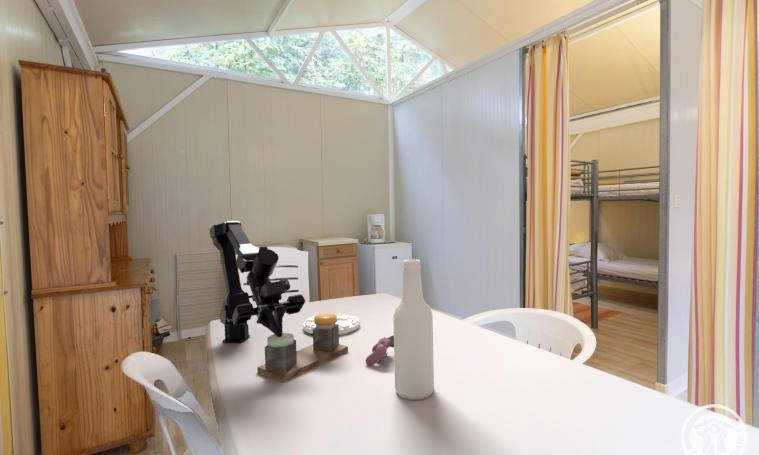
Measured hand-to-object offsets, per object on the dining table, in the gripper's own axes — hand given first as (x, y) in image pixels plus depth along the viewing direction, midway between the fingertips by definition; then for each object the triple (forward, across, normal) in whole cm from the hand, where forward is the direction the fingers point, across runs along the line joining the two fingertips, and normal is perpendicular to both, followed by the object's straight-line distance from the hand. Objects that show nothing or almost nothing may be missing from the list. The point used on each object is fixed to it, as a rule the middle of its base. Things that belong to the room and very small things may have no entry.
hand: (280, 336), depth 98 cm
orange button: (+2, +16, +7) cm, 18 cm away
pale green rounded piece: (+5, 0, +6) cm, 8 cm away
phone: (+9, +40, +5) cm, 41 cm away
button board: (+5, +8, +8) cm, 13 cm away
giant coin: (-10, +30, +24) cm, 39 cm away
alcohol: (+29, +18, -15) cm, 37 cm away
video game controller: (+14, +24, 0) cm, 28 cm away
